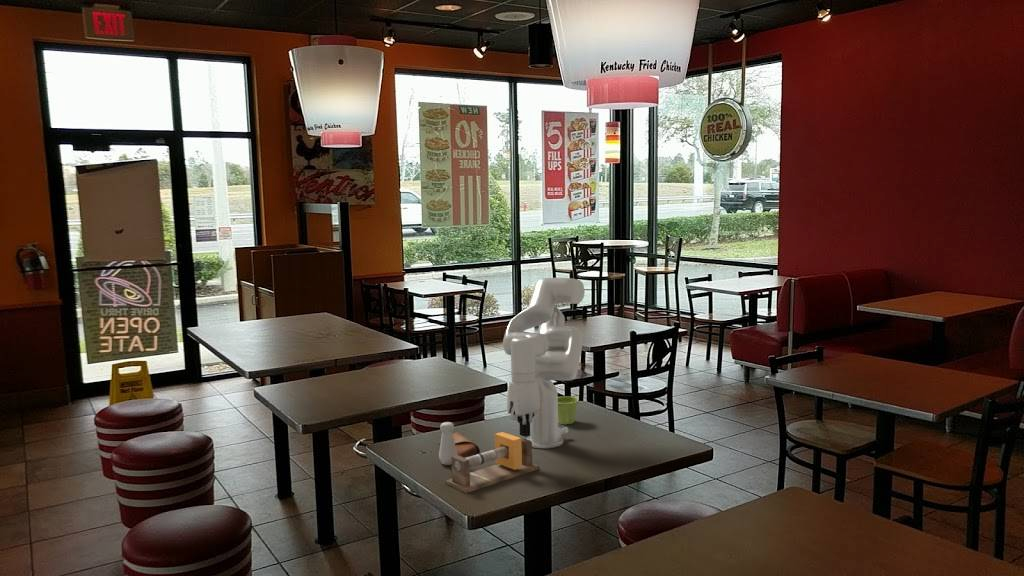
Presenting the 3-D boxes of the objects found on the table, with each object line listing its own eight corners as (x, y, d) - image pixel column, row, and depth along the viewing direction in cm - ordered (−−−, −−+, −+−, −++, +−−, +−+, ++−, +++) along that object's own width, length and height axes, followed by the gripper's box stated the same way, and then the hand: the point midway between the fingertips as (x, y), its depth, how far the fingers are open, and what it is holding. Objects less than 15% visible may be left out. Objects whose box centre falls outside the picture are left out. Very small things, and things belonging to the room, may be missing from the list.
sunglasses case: (435, 443, 255) (444, 425, 256) (452, 450, 259) (460, 432, 260) (456, 458, 240) (465, 439, 241) (474, 465, 243) (483, 447, 244)
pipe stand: (517, 460, 236) (517, 434, 235) (539, 468, 228) (538, 441, 227) (445, 483, 218) (444, 455, 217) (466, 493, 210) (465, 464, 209)
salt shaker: (454, 466, 232) (453, 426, 231) (436, 465, 233) (435, 425, 232) (459, 460, 238) (458, 420, 236) (442, 459, 239) (440, 420, 238)
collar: (503, 460, 231) (502, 431, 230) (522, 467, 224) (521, 438, 223) (495, 462, 229) (494, 433, 228) (514, 469, 222) (513, 440, 221)
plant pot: (571, 427, 270) (571, 404, 269) (548, 424, 274) (548, 401, 273) (583, 420, 278) (582, 398, 277) (560, 417, 282) (559, 395, 281)
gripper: (533, 371, 236) (534, 428, 238) (497, 379, 226) (498, 438, 228) (549, 375, 230) (551, 432, 232) (513, 383, 221) (514, 443, 223)
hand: (525, 435), depth 230 cm, fingers closed
